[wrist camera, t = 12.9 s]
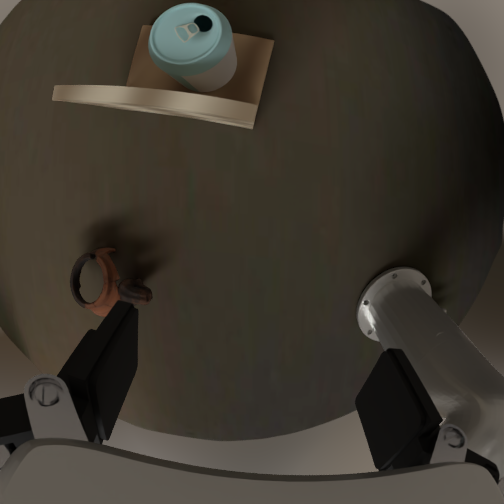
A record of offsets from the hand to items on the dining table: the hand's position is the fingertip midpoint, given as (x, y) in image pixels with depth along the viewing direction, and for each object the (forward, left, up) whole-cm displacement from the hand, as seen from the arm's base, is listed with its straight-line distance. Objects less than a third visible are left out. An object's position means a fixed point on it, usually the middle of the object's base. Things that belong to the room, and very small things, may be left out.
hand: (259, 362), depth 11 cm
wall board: (+10, -14, -28) cm, 33 cm away
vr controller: (+16, +14, -29) cm, 36 cm away
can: (+9, -15, -27) cm, 32 cm away
